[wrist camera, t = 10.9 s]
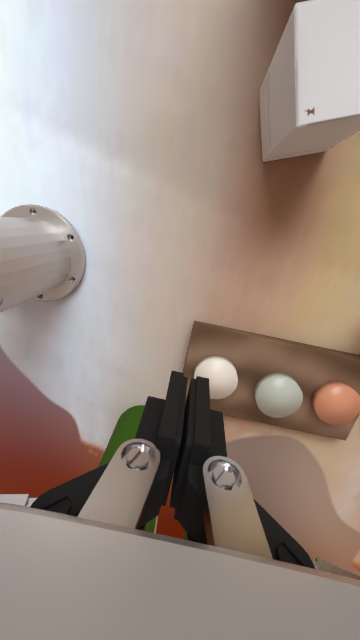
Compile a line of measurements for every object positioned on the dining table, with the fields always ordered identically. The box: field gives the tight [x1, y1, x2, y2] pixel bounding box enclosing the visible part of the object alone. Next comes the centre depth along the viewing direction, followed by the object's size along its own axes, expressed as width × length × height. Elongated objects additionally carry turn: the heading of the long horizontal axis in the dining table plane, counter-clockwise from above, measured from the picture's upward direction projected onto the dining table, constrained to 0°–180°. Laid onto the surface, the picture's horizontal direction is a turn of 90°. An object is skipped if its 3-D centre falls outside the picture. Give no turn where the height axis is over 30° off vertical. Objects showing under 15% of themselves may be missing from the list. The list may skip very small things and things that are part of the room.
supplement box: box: [259, 0, 360, 162], centre depth 25 cm, size 7×7×13 cm
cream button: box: [194, 356, 238, 399], centre depth 39 cm, size 6×6×2 cm
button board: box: [183, 321, 360, 440], centre depth 41 cm, size 13×26×2 cm, turn 79°
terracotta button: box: [311, 381, 360, 425], centre depth 39 cm, size 6×6×2 cm
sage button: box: [254, 373, 303, 418], centre depth 38 cm, size 6×6×2 cm
